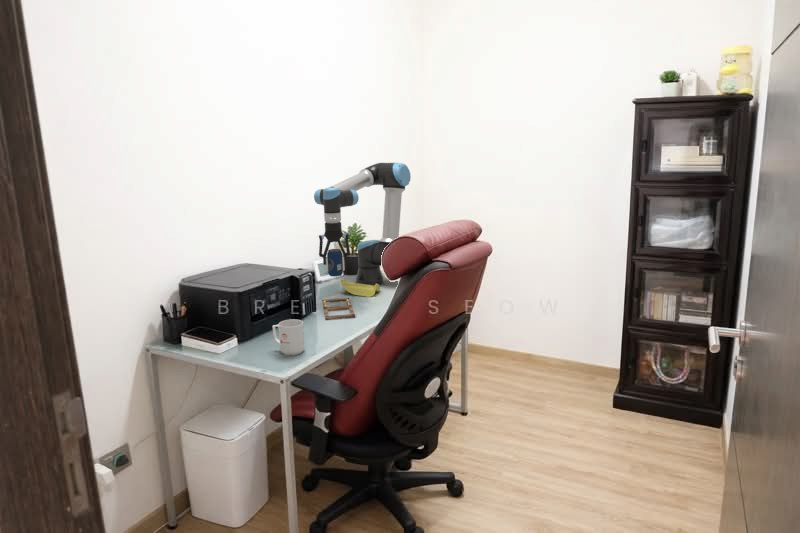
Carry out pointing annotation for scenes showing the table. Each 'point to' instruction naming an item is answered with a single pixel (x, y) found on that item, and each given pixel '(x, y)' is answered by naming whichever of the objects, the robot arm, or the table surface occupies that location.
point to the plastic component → (360, 288)
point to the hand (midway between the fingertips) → (335, 270)
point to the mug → (290, 336)
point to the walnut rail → (337, 308)
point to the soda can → (335, 262)
